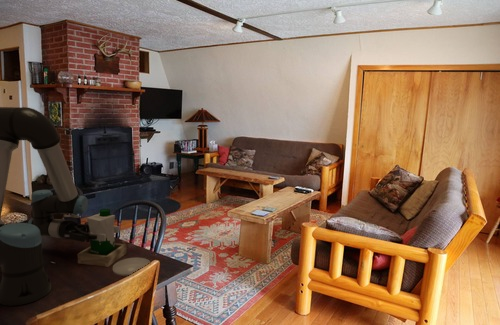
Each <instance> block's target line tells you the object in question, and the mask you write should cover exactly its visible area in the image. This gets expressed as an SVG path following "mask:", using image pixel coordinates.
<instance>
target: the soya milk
mask: <svg viewBox="0 0 500 325" xmlns="http://www.w3.org/2000/svg"><path fill="white" fill-rule="evenodd" d="M115 218H116V215H115V214H112V213H111V209H109V208H103V209H100V210H99V213H97V214H94V215H90V216H88V217H86V220H87V221H86V222H88V225H89V231H90V232H89V234H90V233H94V234H99V233H100V234H106V241H98V240H90V239H89V240H90V241H89V243H90V244H89V247H90V246H91V254H96V255H105V256H107V255H108V254H110V253H111V252H113V251H114V250H115V243H116V242H115V233H114V226H115Z"/></svg>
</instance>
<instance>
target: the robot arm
mask: <svg viewBox="0 0 500 325" xmlns="http://www.w3.org/2000/svg"><path fill="white" fill-rule="evenodd" d="M61 140H62V139H61V136H60V133H59V131H58V130H57V128H56V127H55V125H54V124H53V122H52V121H51V120H50V119H49V118H48V117H47V116H46V115H44V114H43V113H41V112H40V111H38V110H36V109H35V108H32V107H25V106H23V107H17V106H16V107H15V106H9V107H8V106H0V268H1V279H0V305H3V306H7V307H8V306H10V307H14V306H22V305H25V304H30V303H34V302H35V301H38V300H40V299H42V298H44V297H45V296H47V295H48V294H49V293H50V292H51V290H52V283H51V279H50V278H49V275H48V274H47V272H46V270H45V268H44V258H43V256H44V255H43V243H42V241H43V239H42V238H43V237H52V238H53V237H54V238H57V239H61V238H62V239H65V240H67V239H68V240H73V241H77V242H78V241H79V242H81V243H84V242H85V241H86V243H90V240H98V241H106V234H100V233H99V234H94V233H90V231H89V225H88V221H85V222H84V224H83V223H81V224H77V223H76V222H75V221H73V220H64V218H63V219H54V218H53V213H62V214H64V215H71V214H75V215H81V214H84V213H86V212H87V210H88V207H89V200H88V198H87V197H86V196H85V195H79V192H78V190H77V187H76V184H75V182H74V179H73V177H72V174H71V171H70V169H69V166H68V163H67V161H66V158H65V156H64V153H63V149H62V148H61V145H60V143H61ZM20 141H27V142H28V143H30V144H31V148H32V149H34V150H36V151H37V153H38V155H39V157H40V160H41V162H42V164H43V166H44V169H45V171H46V174H47V175H48V178H49V180H50V183H51V185H52V188H53V190H54V191H55V194H56V195H53V194H52V193H53V192H52V191H51V190H50V189H39V190H35V191H33V192H32V193H31V195H30V196H31V197H30V198H31V210H32V212H33V218H30V219H29V220H28V222H17V223H14V222H12V223H6V224H5V222H4V221H3V220H2V218H1V217H2V214H3V213H2V211H3V206H4V201H5V195H6V190H7V189H6V188H7V184H8V178H9V173H10V172H9V171H10V168H11V167H10V166H11V161H12V154H13V151H15V150H17V149H19V144H20ZM118 233H120V226H119V225H114V234H118Z"/></svg>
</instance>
